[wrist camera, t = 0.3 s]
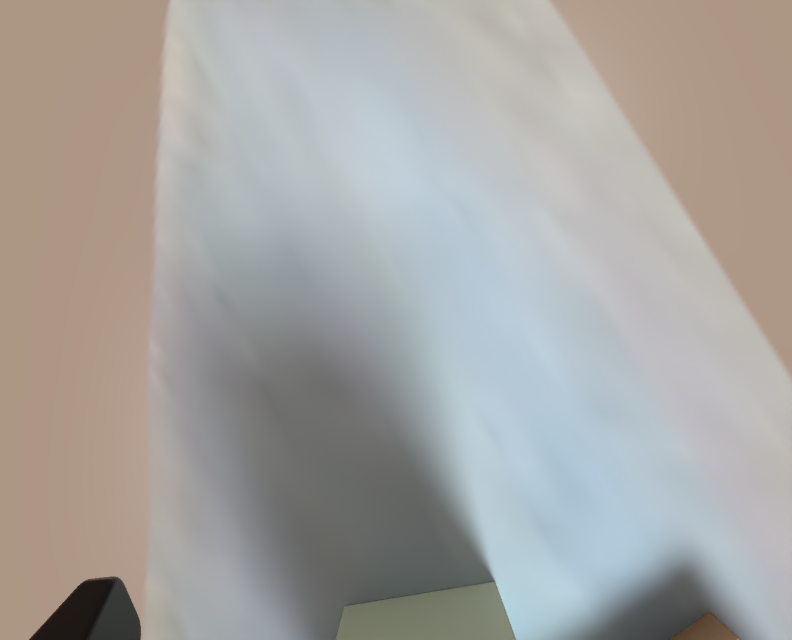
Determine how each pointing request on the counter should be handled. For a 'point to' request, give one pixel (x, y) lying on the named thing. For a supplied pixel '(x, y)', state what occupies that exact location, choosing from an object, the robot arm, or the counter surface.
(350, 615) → the sage block
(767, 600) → the counter surface
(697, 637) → the tan slab
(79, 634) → the robot arm
